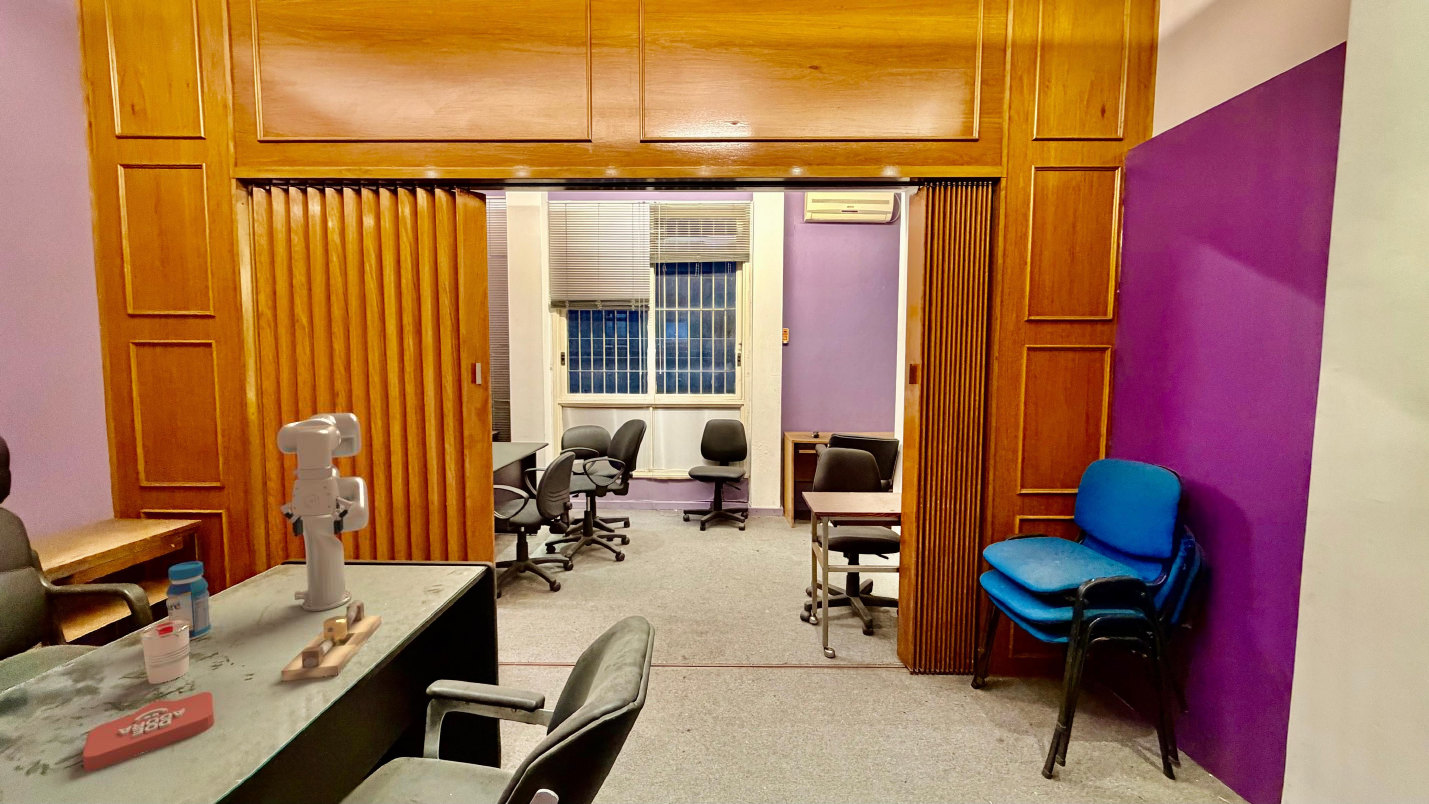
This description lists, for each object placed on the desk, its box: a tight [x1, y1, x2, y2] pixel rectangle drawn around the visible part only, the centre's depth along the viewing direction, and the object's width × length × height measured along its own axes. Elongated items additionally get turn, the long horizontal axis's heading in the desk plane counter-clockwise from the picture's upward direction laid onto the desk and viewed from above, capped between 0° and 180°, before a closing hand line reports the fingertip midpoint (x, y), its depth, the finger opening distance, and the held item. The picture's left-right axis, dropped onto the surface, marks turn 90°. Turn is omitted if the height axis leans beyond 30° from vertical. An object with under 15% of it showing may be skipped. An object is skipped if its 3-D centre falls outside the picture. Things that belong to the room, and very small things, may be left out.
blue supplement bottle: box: [165, 560, 212, 641], centre depth 146 cm, size 8×8×20 cm
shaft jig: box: [280, 599, 382, 682], centre depth 140 cm, size 12×26×8 cm, turn 12°
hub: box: [323, 615, 348, 647], centre depth 140 cm, size 5×6×8 cm
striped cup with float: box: [139, 620, 190, 685], centre depth 128 cm, size 10×8×12 cm
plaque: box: [82, 691, 215, 772], centre depth 109 cm, size 18×4×15 cm
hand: (318, 534), depth 147 cm, fingers open, 9 cm apart
